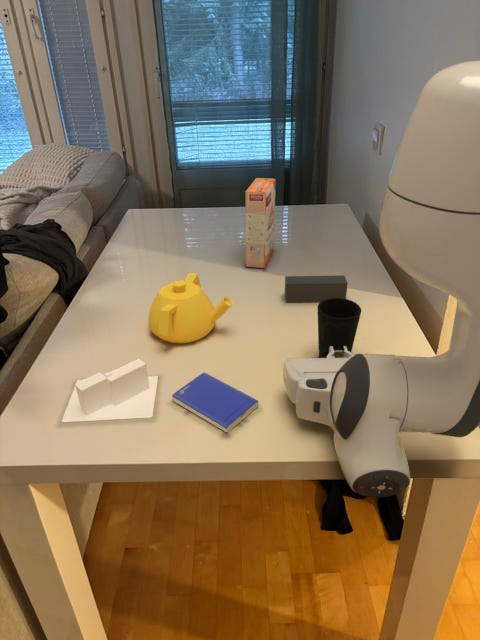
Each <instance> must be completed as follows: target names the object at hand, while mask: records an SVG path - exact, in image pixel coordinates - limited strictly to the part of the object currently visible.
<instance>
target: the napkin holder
mask: <svg viewBox="0 0 480 640" xmlns="http://www.w3.org/2000/svg"><path fill="white" fill-rule="evenodd" d="M147 369H148V368H147V364H146V363H145V362H144V361H143V360H141V359H140V358H137V359H134V360H132V361H129V362H128V363H126V364H124V365H122V366H120V367H117V368H115V369H113V370H111V371H110V370H109V371H108V372H105V373H104V374H103V373H102V372H101V371H99V372H97V373H95V374H93V375H91V376H88V377H87V378H85V379H76V383H74V387H73V390H72V393H71V395H70V398H69V401H68V403H67V406H66V409H65V411H64V414H63V416H62V419H61V421H60V423H74V422H75V423H76V422H92V421H93V422H95V421H112V420H131V419H133V420H134V419H151V418H153V415H154V408H155V402H156V396H157V395H156V393H157V388H158V382H159V375H148V370H147Z"/></svg>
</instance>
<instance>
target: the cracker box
mask: <svg viewBox="0 0 480 640" xmlns="http://www.w3.org/2000/svg"><path fill="white" fill-rule="evenodd" d="M276 184H277V179H276V178H270V177H269V178H267V177H265V178H264V177H255V179H254V180H253V181H252V183H251V184H250V185H249V186H248V188H247V189H246V190H245V197H244V198H245V203H244V205H245V208H244V209H245V214H244V215H245V217H244V219H245V221H244V222H245V223H244V224H245V229H244V230H245V234H244V235H245V238H244V240H245V242H244V244H245V245H244V246H245V247H244V248H245V249H244V250H245V251H244V252H245V253H244V254H245V255H244V256H245V257H244V259H245V260H244V261H245V262H244V263H245V268H252V269H253V268H254V269H266V267H267V265H268V263H269V260H270V258H271V256H272V253H273V251H274V237H275V214H276V213H275V211H276V210H275V209H276V186H277V185H276Z"/></svg>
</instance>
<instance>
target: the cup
mask: <svg viewBox="0 0 480 640" xmlns="http://www.w3.org/2000/svg"><path fill="white" fill-rule="evenodd" d="M361 315H362V307H361V306H360V305H359V304H358V303H357V302H355V301H353V300H351V299H348V298H346V299H343V298H330V299H326V300H323V301H321V302H318V305H317V339H318V340H317V341H318V342H317V343H318V358H327V355H328V354H329V347H330V346H346V347H347V350H348V351H349V352H351V353H352V351H353V348H354V343H355V339H356V335H357V330H358V327H359V323H360V318H361Z"/></svg>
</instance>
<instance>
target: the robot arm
mask: <svg viewBox="0 0 480 640" xmlns="http://www.w3.org/2000/svg"><path fill="white" fill-rule="evenodd" d="M379 214H380V216H379V227H378V229H379V230H378V232H379V237H380V241H381V243H382V246H383V248H384V250H385V251H386V254H387V255H388V256H389V257H390V259H391V260H392V261H393V262H394V263H395V265H396V266H398V267H399V268H400V269H401V270H403V272H405V273H406V274H408V275H409V276H410V277H412V278H414V279H415V280H417V281H419V282H421V283H422V284H424V285H427V286H429V287H430V288H431V287H432V288H434V289H436V290H438V291H441V292H443V293H445V294H447V295H449V296H450V297H453V298H454V299H456V308H455V312H454V319H453V323H452V331H451V336H450V341H449V345H448V346H449V347H448V350H446V351H445V352H443V353H441V354H438V355H436V356H413V355H412V356H411V355H396V354H385V353H384V354H383V353H356V354H354V353H353V352H352V351H351V352H349V351H348V350H347V347H346V346H330V347H329V354H328V355H327V358H319V357H308V358H307V357H306V358H305V357H304V358H303V357H302V358H297V357H295V358H293V357H291V358H286V360H285V361H284V362H283V365H282V366H283V367H282V368H283V369H282V377H283V384H284V387H285V391H286V394H287V396H288V398H289V399H290V401H291V402H292V403H293V404H295V414H296V416H297V418H299V419H300V420H305V421H310V422H314V423H318V424H322V425H325V426H327V427H330V428H331V430H332V431H333V443H334V449H335V452H336V456H337V459H338V462H339V466H340V468H341V471H342V474H343V476H344V478H345V480H346V482H347V484H348V487H350V489H351V491H353V492H354V493H355V494H357V495H358V496H362V497H365V498H389V497H392V496H395V495H398V494H400V493H402V492H403V491H405V490H406V489H407V488H408V487H409V486H410V483H411V471H410V466H409V461H408V458H407V454H406V450H405V447H404V444H403V441H402V438H401V435H400V432H401V433H419V434H422V433H424V434H433V435H437V436H438V435H439V436H444V437H445V436H446V437H453V438H464V437H467V436H469V435H470V434H471V433H472V432H474V431H475V430H476V429H477V428H478V427H479V426H480V60H471V61H469V60H468V61H465V62H464V61H463V62H459V63H456V64H453V65H450V66H448V67H445V68H443V69H442V70H439V71H438V72H436V73H435V74H433V76H431V77H430V78H429V79H428V80H427V82H426V83H425V84H424V85H423V87H422V89H421V91H420V92H419V94H418V96H417V98H416V101H415V103H414V105H413V108H412V110H411V112H410V114H409V117H408V119H407V121H406V123H405V126H404V129H403V132H402V134H401V137H400V139H399V143H398V145H397V148H396V151H395V154H394V158H393V161H392V164H391V167H390V172H389V175H388V178H387V182H386V185H385V189H384V194H383V198H382V203H381V207H380V213H379Z"/></svg>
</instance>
